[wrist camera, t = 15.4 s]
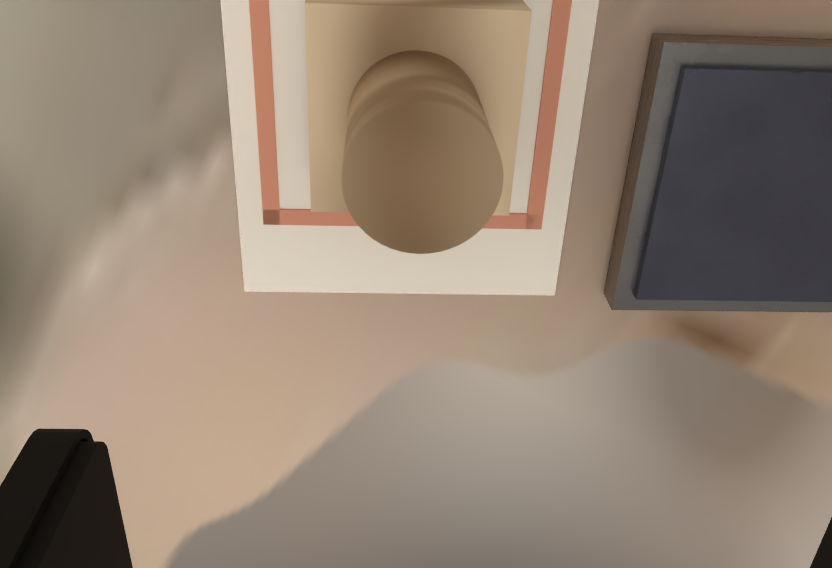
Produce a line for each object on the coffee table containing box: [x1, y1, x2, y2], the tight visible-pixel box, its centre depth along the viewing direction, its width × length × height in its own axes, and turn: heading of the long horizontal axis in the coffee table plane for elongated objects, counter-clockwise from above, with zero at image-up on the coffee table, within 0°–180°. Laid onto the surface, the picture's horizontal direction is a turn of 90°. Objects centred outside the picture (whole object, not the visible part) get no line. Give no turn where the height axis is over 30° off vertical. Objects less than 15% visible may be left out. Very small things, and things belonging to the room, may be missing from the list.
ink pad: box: [604, 34, 832, 312], centre depth 28 cm, size 11×10×2 cm
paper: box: [220, 0, 599, 295], centre depth 26 cm, size 12×16×1 cm
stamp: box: [305, 0, 532, 254], centre depth 23 cm, size 6×6×8 cm
